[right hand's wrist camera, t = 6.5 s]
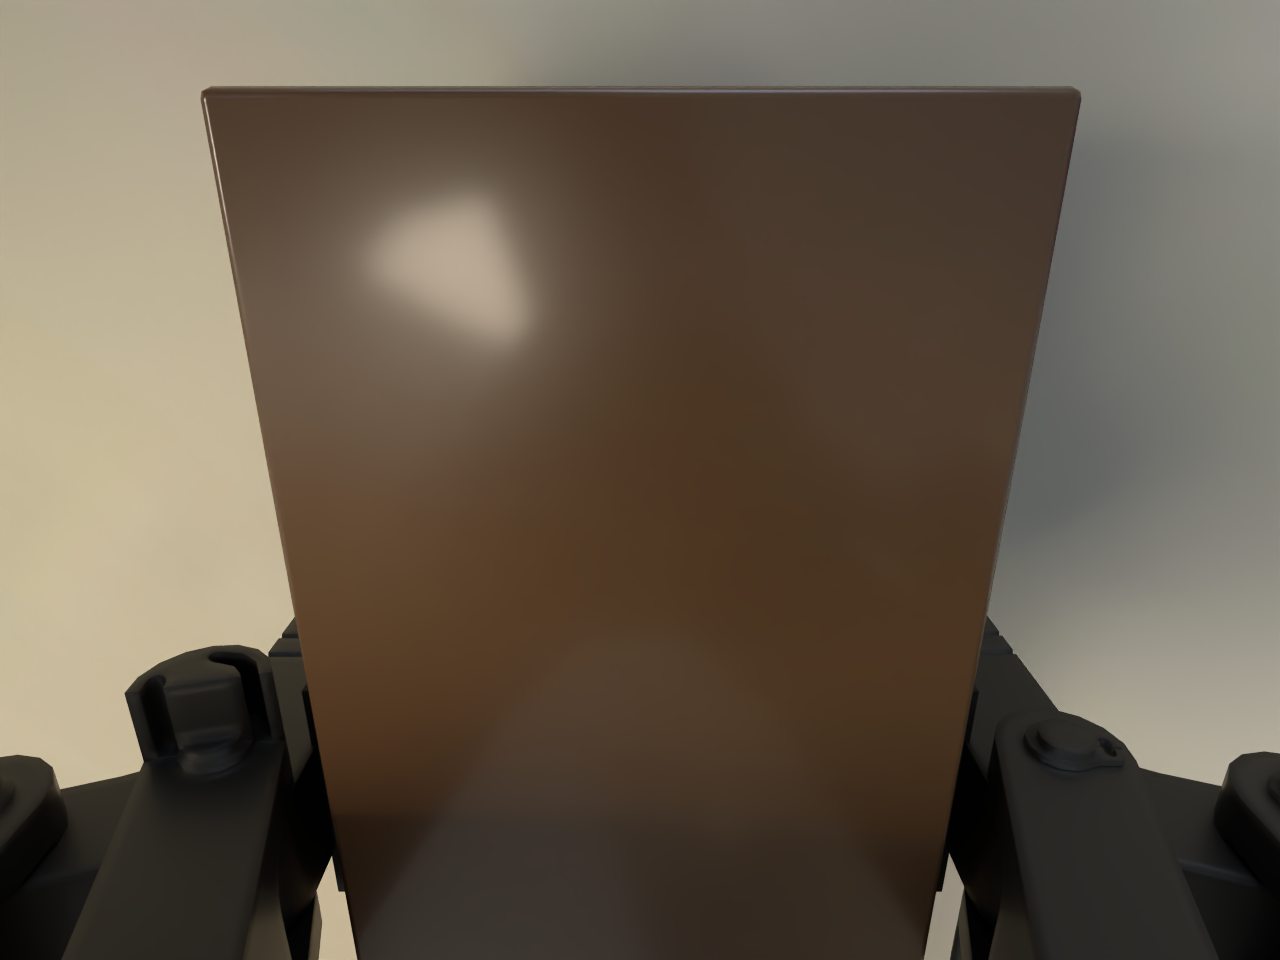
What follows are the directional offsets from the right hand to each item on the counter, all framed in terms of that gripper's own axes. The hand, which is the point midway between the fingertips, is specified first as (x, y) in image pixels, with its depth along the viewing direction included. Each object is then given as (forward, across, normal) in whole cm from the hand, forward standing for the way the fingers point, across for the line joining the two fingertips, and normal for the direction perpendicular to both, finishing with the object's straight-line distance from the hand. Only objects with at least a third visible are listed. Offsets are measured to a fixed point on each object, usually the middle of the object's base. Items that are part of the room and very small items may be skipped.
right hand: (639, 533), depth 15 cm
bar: (0, 0, -31) cm, 31 cm away
